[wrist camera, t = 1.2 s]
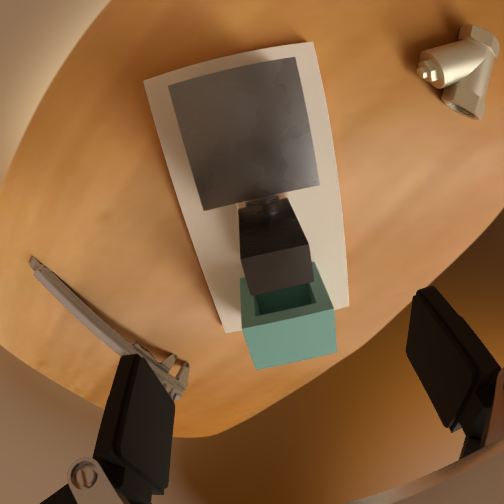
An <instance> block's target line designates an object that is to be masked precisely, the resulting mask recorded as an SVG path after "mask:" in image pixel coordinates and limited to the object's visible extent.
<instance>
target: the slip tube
mask: <svg viewBox="0 0 504 504" xmlns="http://www.w3.org/2000/svg"><path fill="white" fill-rule="evenodd" d="M236 208H237V212H238V216H239V241H240V260H241V264H242V267H243V271H244V274H245V278H246V281H247V285H248V288H249V292H250V295H251V296H252V295H256V294H261V293H266V292H270V291H275V290H279V289H284V288H288V287H293V286H297V285H302V284H306V283H310V282H314V275H313V268H312V261H311V254H310V247H309V243H308V241H307V239H306V236H305V234H304V232H303V230H302V228H301V226H300V223H299V221H298V219H297V217H296V215H295V213H294V211H293V209H292V206H291V204H290V202H289V198H288V192H285V193H280V194H275V195H271V196H266V197H262V198H257V199H253V200H249V201H244V202H240V203H236Z"/></svg>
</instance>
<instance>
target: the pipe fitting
mask: <svg viewBox="0 0 504 504" xmlns="http://www.w3.org/2000/svg"><path fill="white" fill-rule="evenodd" d="M458 39H459V41H457V42H453V43H449V44H446V45H442V46H438V47H435V48H431V49H428V50H424V51H422V52H421V53H420V56H419V62H418V68H417V74H418V76H419V77H420V78H421V79H422V78H423V79H424V80H425V81H426V82H429V83H430V84H431V85H433V86H434V87H436V88H438V89H441V88H444V87H445V88H444V91H443V94H442V97H441V99H442V101H443V102H444V104H445V105H446V106H448V107H449V108H451V109H452V110H454V111H456V112H457V113H459V114H461V115H463V116H466V117H468V118H471V119H474V120H482V117H483V113H484V110H485V107H486V106H485V103H484V98H485V95H486V91H487V87H488V83H489V80H490V75H491V71H492V67H493V62H494V59H497V58H498V54H499V49H500V46H499V43H498V41H497V39H496V37H495V36H494V35H493V34H492V33H490V32H489V31H487V30H486V29H484V28H482V27H479V26H476V25H472V24H468V25H464V26H462V27H460V32H459V36H458Z"/></svg>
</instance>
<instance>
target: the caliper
mask: <svg viewBox="0 0 504 504" xmlns="http://www.w3.org/2000/svg"><path fill="white" fill-rule="evenodd" d="M30 266H31V267H32V269H33V270H34V271H35V273H34V276H35V277H36V278H37V279H38V280H39V281H40V282H41V283H42V284H43V285H44V287H45V288H46V289H47V290H48V291H49V292H50V293H51V294H52V295H53V296H54V297H55V298H56V299H57V300H58V301H59V302H60V303H61V304H62V305H63V306H64V307H65V308H66V309H67V310H68V311H70V312H71V313H72V314H73V315H74V316H75V317H76V318H77V319H78V320H79V321H80V322H81V323H82V324H84V325H85V326H86V327H87V328H88V329H89V330H90V331H91V332H93V333H94V334H95V335H96V336H97V337H98V338H99V339H101V340H102V341H103V342H104V343H105V344H106V345H108V346H109V347H110V348H111V349H112V350H114V351H115V352H116V353H117V354H119V355H120V356H123V355H129V354H139V355H140V356H141V357H144V358H145V359H146V360H147V362H148V364H149V365H150V367H151V368H152V370H153V371H154V373H155V374H156V376H157V377H158V379H159V380H160V382H161V383H162V385H163V386H164V388H165V389H166V391H167V392H168V394H169V395H170V396H171V398H172V399H173V401H174V399H175V400H178V399H179V398H181V397H182V395H183V393H184V391H185V389H186V387H187V385H188V377H189V368H190V365H189V363H188V362H187V361H186V362H185V363H184V364H183V365H181V368H180V370H179V372H178V374H177V375H176V377H174V376H172V375H171V374H169V370H170V369H171V368H172V366H173V364H174V362H175V358H176V357H177V356H176V355H175V354H172V355H170V356H169V357H168V358H166V359H165V360H164V361H162V362H161V363H159V362H158V361H156V360H155V358H154V357H153V356H152V354H151V353H150V352H149V351H148V350H147V349H144V348H143V347H142V346H141V345H140V344H139V343H138V342H137V341H136V342H135V343H134V344H133V345H132V344H131V343H130V342H129V341H127V340H126V339H125V338H124V337H122V336H121V335H120V334H119V333H118V332H116V331H115V330H114V329H113V328H112V327H111V326H109V325H108V324H107V323H106V322H105V321H104V320H103V319H101V318H100V317H99V316H98V315H97V314H96V313H95V312H94V311H93V310H91V309H90V308H89V307H88V306H87V305H86V304H85V303H84V302H83V301H82V300H81V299H80V298H79V297H78V296H77V295H76V294H75V293H73V292H72V291H71V290H70V289H69V288H68V287H67V286H66V285H65V284H64V283H63V282H62V281H61V280H60V279H59V278H58V276H57V275H56V274H55V273H54V272H52V271H51V270H50V269H49V268H47V267H46V266H45V265H44V264H42V265H41V264H40V263H39V262H38V260H37V259H36V258H35V257H33V256H32V258H31V261H30Z"/></svg>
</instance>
